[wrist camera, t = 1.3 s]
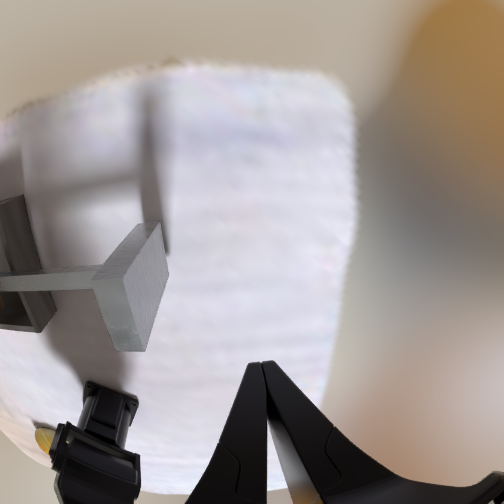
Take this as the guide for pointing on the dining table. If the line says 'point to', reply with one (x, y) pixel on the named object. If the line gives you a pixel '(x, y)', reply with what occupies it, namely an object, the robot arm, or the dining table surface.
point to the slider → (113, 285)
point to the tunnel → (21, 259)
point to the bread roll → (45, 438)
